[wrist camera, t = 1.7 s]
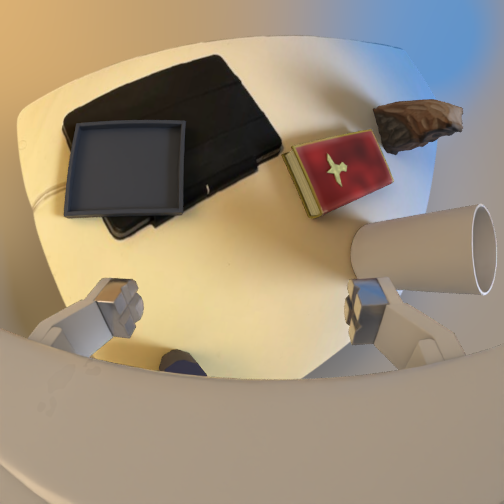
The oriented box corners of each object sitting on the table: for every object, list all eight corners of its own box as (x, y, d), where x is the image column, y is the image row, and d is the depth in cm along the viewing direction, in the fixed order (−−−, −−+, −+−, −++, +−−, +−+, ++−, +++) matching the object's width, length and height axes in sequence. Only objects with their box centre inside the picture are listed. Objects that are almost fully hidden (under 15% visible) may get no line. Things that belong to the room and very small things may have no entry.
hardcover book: (381, 186, 52) (395, 182, 48) (309, 219, 45) (323, 215, 41) (359, 135, 51) (372, 128, 47) (281, 154, 44) (293, 145, 40)
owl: (405, 128, 58) (462, 102, 39) (409, 169, 56) (474, 148, 38) (372, 106, 53) (432, 71, 35) (375, 149, 52) (446, 118, 33)
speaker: (187, 398, 36) (197, 427, 26) (151, 386, 35) (151, 413, 25) (202, 354, 38) (218, 373, 29) (166, 341, 37) (170, 357, 27)
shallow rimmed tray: (68, 218, 32) (63, 216, 30) (79, 129, 32) (76, 123, 30) (181, 215, 38) (183, 212, 36) (183, 127, 38) (185, 120, 36)
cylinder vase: (394, 279, 52) (498, 281, 29) (353, 294, 48) (473, 307, 24) (386, 220, 52) (491, 202, 28) (343, 227, 47) (465, 205, 24)
